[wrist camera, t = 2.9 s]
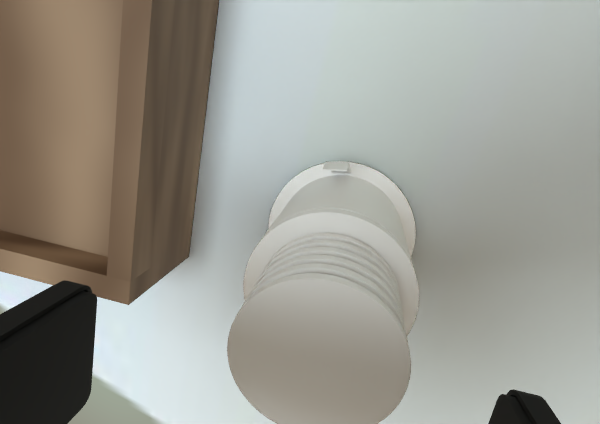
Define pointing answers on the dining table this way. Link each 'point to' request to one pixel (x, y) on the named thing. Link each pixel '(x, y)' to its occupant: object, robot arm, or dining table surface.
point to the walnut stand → (101, 138)
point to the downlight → (329, 301)
